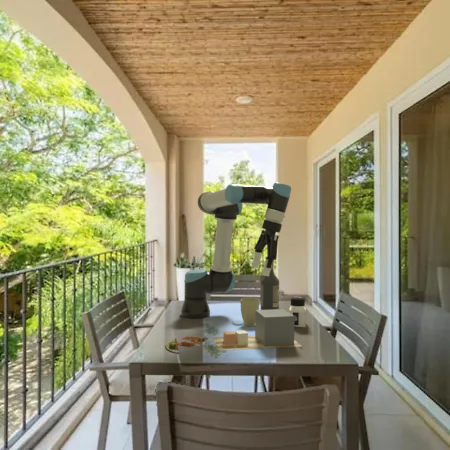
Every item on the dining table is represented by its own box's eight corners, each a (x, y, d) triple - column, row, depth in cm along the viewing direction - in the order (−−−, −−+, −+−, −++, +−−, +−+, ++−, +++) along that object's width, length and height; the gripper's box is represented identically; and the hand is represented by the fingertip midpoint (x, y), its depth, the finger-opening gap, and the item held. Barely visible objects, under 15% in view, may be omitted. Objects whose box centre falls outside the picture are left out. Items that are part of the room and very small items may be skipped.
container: (305, 327, 176) (306, 299, 176) (288, 326, 178) (289, 298, 178) (305, 323, 184) (305, 296, 184) (289, 322, 185) (289, 295, 185)
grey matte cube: (255, 337, 155) (255, 310, 155) (282, 335, 157) (283, 309, 157) (264, 346, 143) (264, 317, 143) (294, 344, 146) (294, 316, 146)
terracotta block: (223, 341, 149) (223, 331, 148) (233, 341, 149) (233, 331, 149) (225, 344, 145) (225, 334, 145) (235, 344, 145) (235, 333, 145)
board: (212, 341, 154) (212, 337, 154) (287, 337, 160) (287, 334, 160) (219, 354, 138) (219, 350, 138) (301, 350, 144) (301, 346, 144)
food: (218, 352, 142) (218, 344, 142) (172, 358, 136) (172, 350, 136) (203, 337, 159) (203, 330, 159) (162, 342, 153) (162, 335, 153)
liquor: (259, 311, 208) (260, 256, 208) (263, 307, 216) (264, 255, 216) (276, 312, 204) (276, 257, 204) (279, 309, 213) (280, 256, 213)
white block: (235, 341, 149) (235, 330, 149) (244, 340, 150) (244, 330, 150) (237, 344, 146) (238, 333, 145) (247, 343, 147) (248, 333, 147)
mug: (264, 324, 180) (264, 299, 180) (250, 328, 173) (251, 302, 173) (246, 320, 188) (246, 296, 188) (233, 324, 180) (233, 298, 180)
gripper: (293, 227, 142) (279, 281, 143) (271, 219, 166) (258, 266, 168) (275, 222, 140) (261, 277, 142) (255, 215, 164) (243, 262, 166)
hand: (259, 271), depth 155 cm, fingers open, 13 cm apart
